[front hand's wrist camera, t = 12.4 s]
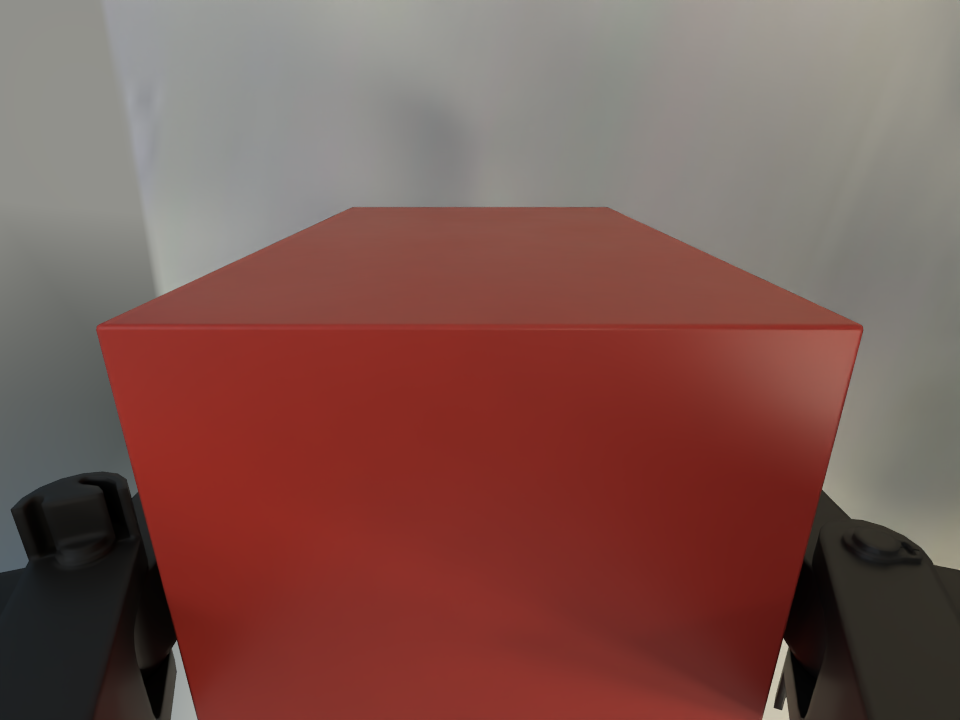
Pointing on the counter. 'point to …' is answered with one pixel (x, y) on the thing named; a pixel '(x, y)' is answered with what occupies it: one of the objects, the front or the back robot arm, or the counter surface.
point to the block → (479, 468)
